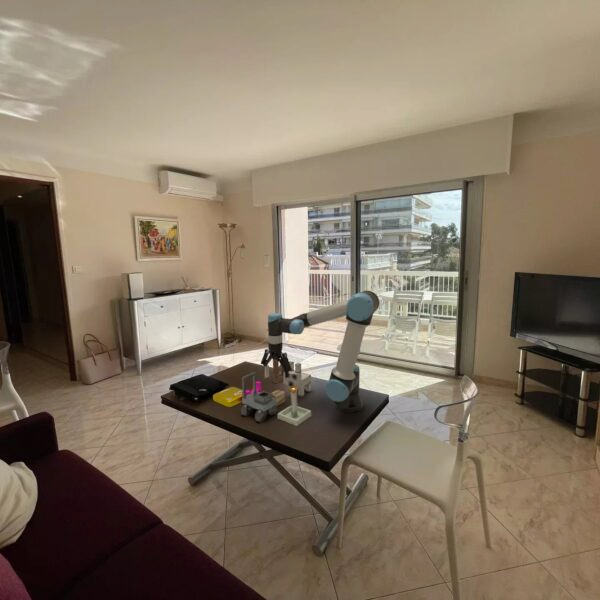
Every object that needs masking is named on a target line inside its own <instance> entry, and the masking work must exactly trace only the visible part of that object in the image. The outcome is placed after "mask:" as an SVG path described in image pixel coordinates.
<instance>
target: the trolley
mask: <svg viewBox="0 0 600 600" xmlns="http://www.w3.org/2000/svg"><path fill="white" fill-rule="evenodd" d="M250 378H252V386H253V387H252V389H253V393H251V394H249V395H247V396H246V390H247V388H246V387H247V386H246V380H248V379H250ZM256 381H257V373H256V371H254V372H251V373H249V374H247V375H244V376H242V377H241V388H242V389H241V390H242V393H243V398H242V402H241V404H242V406H241V407H240V414H241V416H244V417H247V416H249V415H251V414H252V413H253V410H256V411H255V413H254V420H255V421H256V422H258V423H262V422H265V420H267V419H266V418H267V416H268V415H269V416H274V415H276V414H277V412H278V406H277V404H276V399H275V398H273V394H272V393H273V392H268V391H266V390H261V392H260V393H257V388H256Z"/></svg>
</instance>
